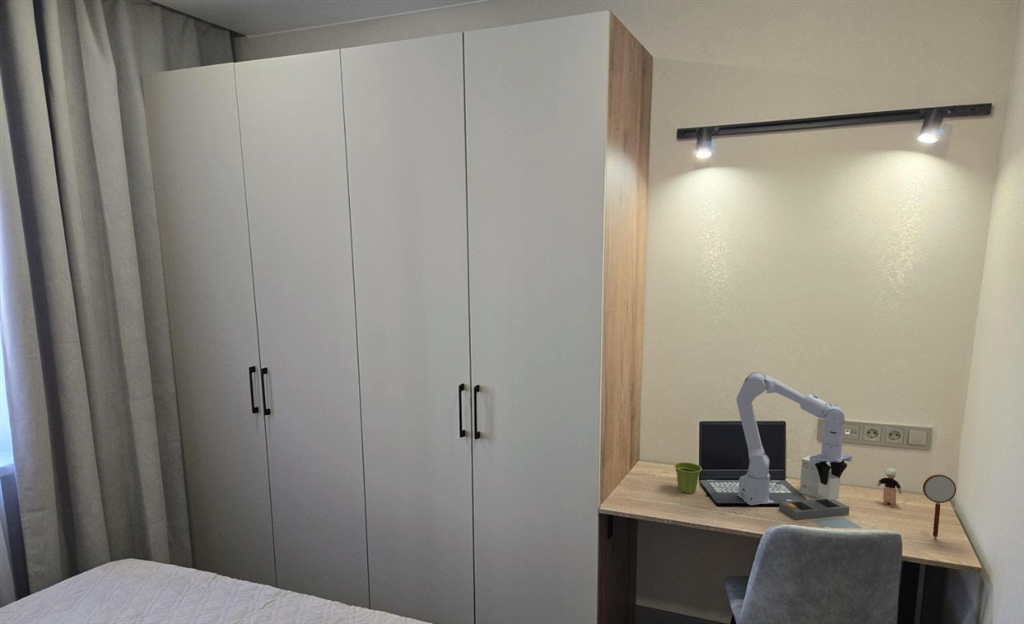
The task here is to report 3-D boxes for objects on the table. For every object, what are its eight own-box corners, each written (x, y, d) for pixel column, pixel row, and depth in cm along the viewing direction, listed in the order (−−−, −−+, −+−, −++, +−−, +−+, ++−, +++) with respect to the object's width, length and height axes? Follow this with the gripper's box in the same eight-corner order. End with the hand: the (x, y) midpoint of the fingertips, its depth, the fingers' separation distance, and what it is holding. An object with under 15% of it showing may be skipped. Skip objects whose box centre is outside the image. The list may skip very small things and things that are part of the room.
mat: (834, 536, 178) (834, 534, 178) (811, 521, 188) (811, 519, 187) (868, 532, 180) (868, 531, 180) (843, 518, 190) (843, 517, 190)
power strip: (795, 522, 187) (796, 510, 187) (778, 512, 195) (779, 500, 195) (848, 517, 192) (849, 505, 191) (830, 507, 200) (831, 495, 199)
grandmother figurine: (902, 505, 201) (905, 469, 199) (900, 509, 198) (903, 472, 197) (876, 499, 206) (879, 464, 205) (874, 502, 203) (876, 466, 202)
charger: (829, 499, 191) (830, 475, 190) (818, 493, 196) (819, 469, 195) (838, 499, 192) (840, 474, 191) (827, 493, 197) (828, 469, 196)
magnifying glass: (920, 538, 177) (925, 474, 175) (917, 536, 179) (923, 472, 177) (952, 542, 175) (958, 477, 173) (949, 539, 177) (955, 475, 175)
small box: (830, 496, 207) (833, 461, 206) (822, 501, 203) (825, 464, 202) (807, 489, 214) (809, 454, 212) (799, 493, 210) (801, 458, 208)
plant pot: (706, 494, 208) (707, 470, 207) (682, 496, 205) (683, 472, 204) (690, 484, 217) (692, 461, 216) (668, 486, 214) (669, 463, 213)
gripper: (821, 448, 187) (818, 489, 188) (860, 445, 190) (857, 486, 191) (806, 441, 194) (803, 481, 195) (843, 439, 197) (840, 478, 198)
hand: (829, 483), depth 194 cm, fingers closed on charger, 4 cm apart
